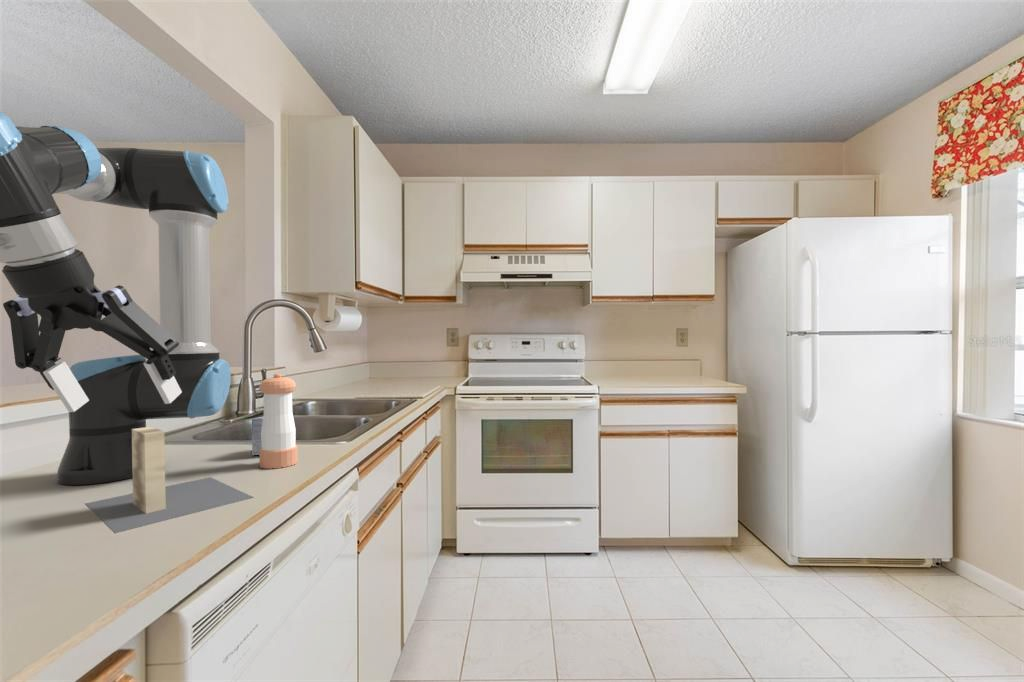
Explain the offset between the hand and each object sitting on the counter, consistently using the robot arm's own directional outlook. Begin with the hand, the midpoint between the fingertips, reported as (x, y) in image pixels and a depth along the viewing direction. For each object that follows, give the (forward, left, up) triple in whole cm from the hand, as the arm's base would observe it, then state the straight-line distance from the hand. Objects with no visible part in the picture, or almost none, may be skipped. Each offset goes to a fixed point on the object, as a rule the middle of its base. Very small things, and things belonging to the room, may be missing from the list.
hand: (126, 402), depth 67 cm
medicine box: (-30, +33, -18) cm, 48 cm away
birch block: (-8, +4, -17) cm, 20 cm away
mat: (-8, +7, -18) cm, 21 cm away
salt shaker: (-18, +29, -18) cm, 39 cm away
